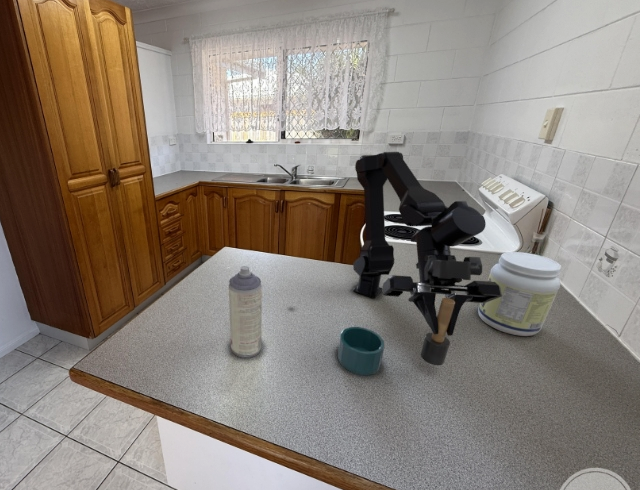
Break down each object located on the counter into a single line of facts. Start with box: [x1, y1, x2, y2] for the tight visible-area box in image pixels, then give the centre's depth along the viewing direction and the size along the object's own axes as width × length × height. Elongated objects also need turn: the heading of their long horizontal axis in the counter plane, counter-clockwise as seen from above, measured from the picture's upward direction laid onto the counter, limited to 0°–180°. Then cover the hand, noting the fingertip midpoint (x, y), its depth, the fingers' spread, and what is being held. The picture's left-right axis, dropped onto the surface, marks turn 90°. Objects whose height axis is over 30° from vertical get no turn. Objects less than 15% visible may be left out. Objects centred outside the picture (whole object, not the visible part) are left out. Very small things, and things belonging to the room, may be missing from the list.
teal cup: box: [337, 326, 385, 376], centre depth 65 cm, size 8×8×6 cm
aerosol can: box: [228, 265, 263, 359], centre depth 66 cm, size 7×7×20 cm
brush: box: [420, 297, 455, 366], centre depth 58 cm, size 4×4×13 cm
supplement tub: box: [477, 251, 562, 337], centre depth 74 cm, size 12×12×17 cm
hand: (443, 334), depth 57 cm, fingers closed on brush, 2 cm apart
